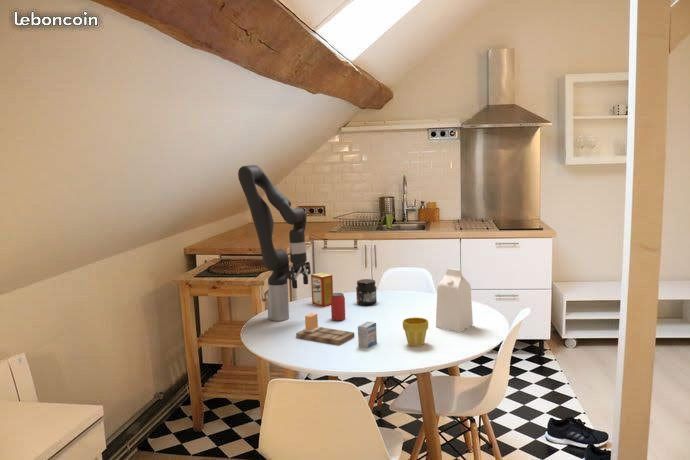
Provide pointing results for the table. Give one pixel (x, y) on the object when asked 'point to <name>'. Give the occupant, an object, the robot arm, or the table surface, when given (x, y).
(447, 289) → the milk
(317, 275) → the baking soda box
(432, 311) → the table surface
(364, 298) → the supplement container
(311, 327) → the fader tab
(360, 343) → the medicine box
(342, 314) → the beer can
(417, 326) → the plant pot
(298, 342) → the table surface
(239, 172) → the robot arm
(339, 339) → the fader board
